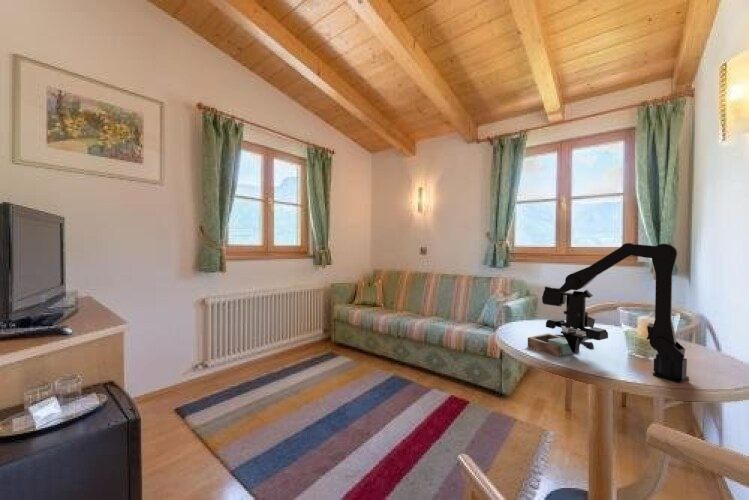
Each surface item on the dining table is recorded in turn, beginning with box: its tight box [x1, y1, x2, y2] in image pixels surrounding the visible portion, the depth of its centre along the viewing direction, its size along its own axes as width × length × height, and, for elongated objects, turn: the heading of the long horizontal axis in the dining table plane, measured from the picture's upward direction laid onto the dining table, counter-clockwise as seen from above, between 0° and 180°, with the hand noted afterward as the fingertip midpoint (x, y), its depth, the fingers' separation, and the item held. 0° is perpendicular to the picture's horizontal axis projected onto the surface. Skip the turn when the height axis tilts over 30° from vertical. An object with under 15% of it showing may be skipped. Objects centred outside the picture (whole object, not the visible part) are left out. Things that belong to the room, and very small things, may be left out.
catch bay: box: [527, 332, 581, 358], centre depth 123 cm, size 12×12×4 cm
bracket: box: [555, 334, 595, 350], centre depth 131 cm, size 14×15×3 cm
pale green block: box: [548, 338, 574, 356], centre depth 120 cm, size 6×6×4 cm
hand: (574, 352), depth 116 cm, fingers closed
